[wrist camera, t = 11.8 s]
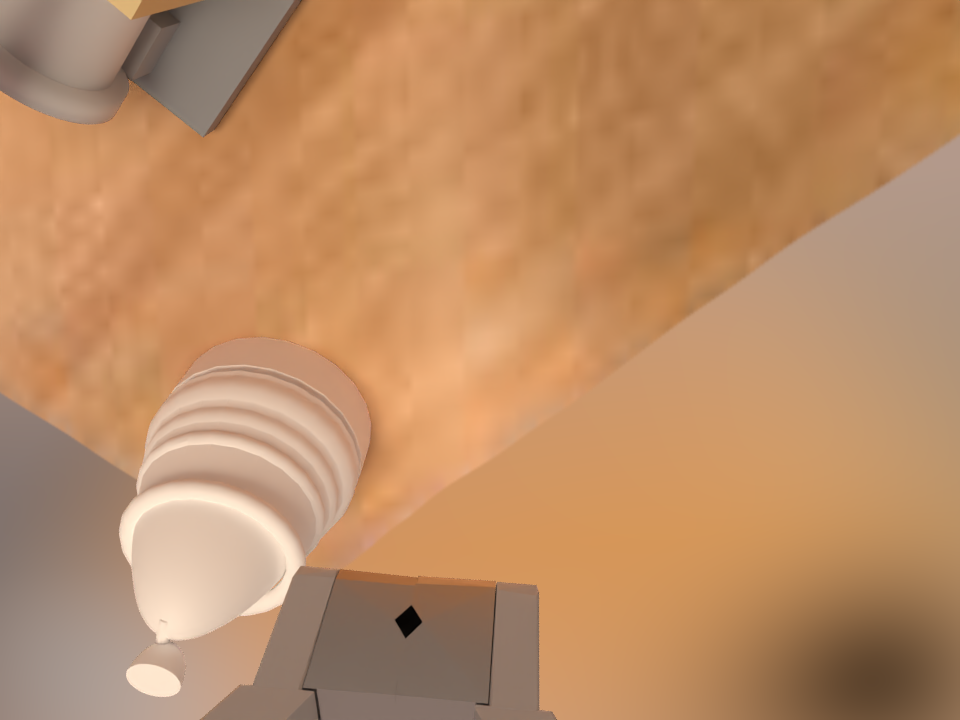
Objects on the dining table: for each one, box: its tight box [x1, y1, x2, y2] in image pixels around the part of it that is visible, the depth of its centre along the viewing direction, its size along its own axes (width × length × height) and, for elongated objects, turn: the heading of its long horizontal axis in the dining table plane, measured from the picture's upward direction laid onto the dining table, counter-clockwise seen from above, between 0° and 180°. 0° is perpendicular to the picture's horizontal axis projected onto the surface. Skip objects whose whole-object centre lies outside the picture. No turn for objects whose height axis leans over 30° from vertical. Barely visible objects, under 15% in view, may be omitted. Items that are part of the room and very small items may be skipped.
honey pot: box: [119, 337, 371, 697], centre depth 40 cm, size 13×13×18 cm
